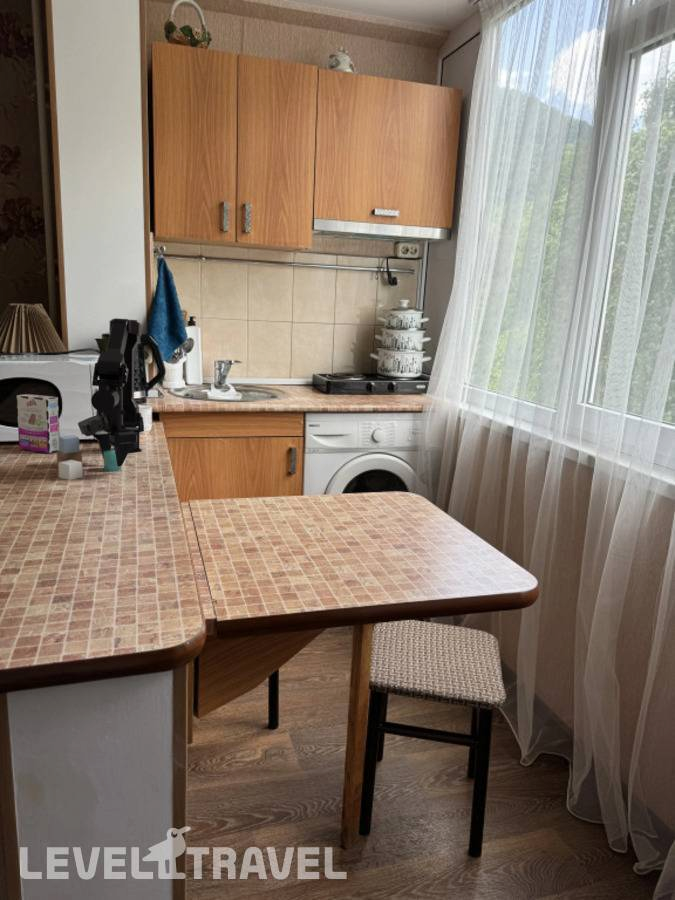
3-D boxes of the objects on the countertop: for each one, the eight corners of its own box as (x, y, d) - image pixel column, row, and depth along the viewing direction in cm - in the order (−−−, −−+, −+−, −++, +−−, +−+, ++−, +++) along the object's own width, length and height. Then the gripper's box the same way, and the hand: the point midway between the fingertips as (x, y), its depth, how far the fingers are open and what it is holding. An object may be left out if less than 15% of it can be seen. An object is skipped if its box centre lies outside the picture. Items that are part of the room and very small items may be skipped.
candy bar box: (61, 450, 192) (59, 396, 189) (49, 454, 188) (47, 398, 184) (30, 446, 196) (28, 393, 192) (18, 449, 191) (15, 394, 187)
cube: (71, 474, 169) (71, 459, 168) (82, 477, 167) (82, 462, 166) (58, 477, 165) (58, 462, 164) (69, 480, 163) (69, 465, 163)
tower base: (75, 462, 181) (75, 448, 180) (82, 466, 177) (81, 452, 176) (57, 464, 178) (56, 450, 177) (63, 468, 174) (63, 454, 173)
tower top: (73, 449, 179) (73, 435, 178) (79, 451, 176) (78, 437, 176) (59, 450, 177) (58, 436, 176) (64, 453, 174) (64, 439, 173)
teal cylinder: (116, 466, 179) (116, 449, 177) (123, 470, 175) (123, 452, 174) (101, 468, 176) (101, 451, 174) (108, 472, 172) (107, 454, 171)
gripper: (67, 402, 173) (69, 458, 176) (95, 413, 160) (97, 474, 163) (108, 400, 180) (109, 454, 184) (137, 410, 167) (138, 468, 170)
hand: (112, 462), depth 175 cm, fingers open, 9 cm apart
